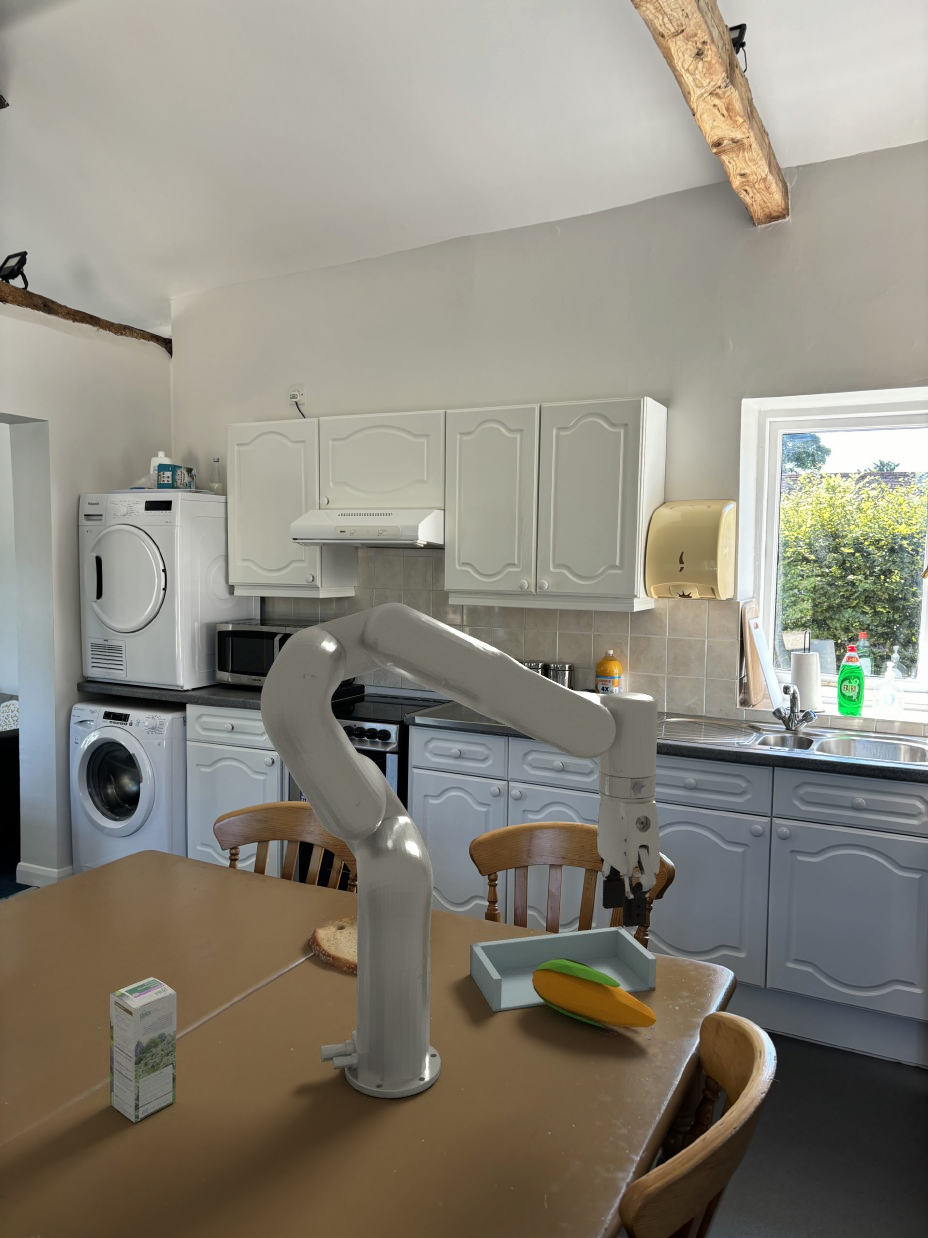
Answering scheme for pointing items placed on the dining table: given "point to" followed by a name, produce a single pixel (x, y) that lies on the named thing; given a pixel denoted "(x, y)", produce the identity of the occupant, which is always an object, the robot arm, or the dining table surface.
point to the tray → (513, 961)
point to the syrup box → (142, 1048)
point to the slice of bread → (337, 944)
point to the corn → (588, 995)
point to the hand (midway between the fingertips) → (623, 915)
